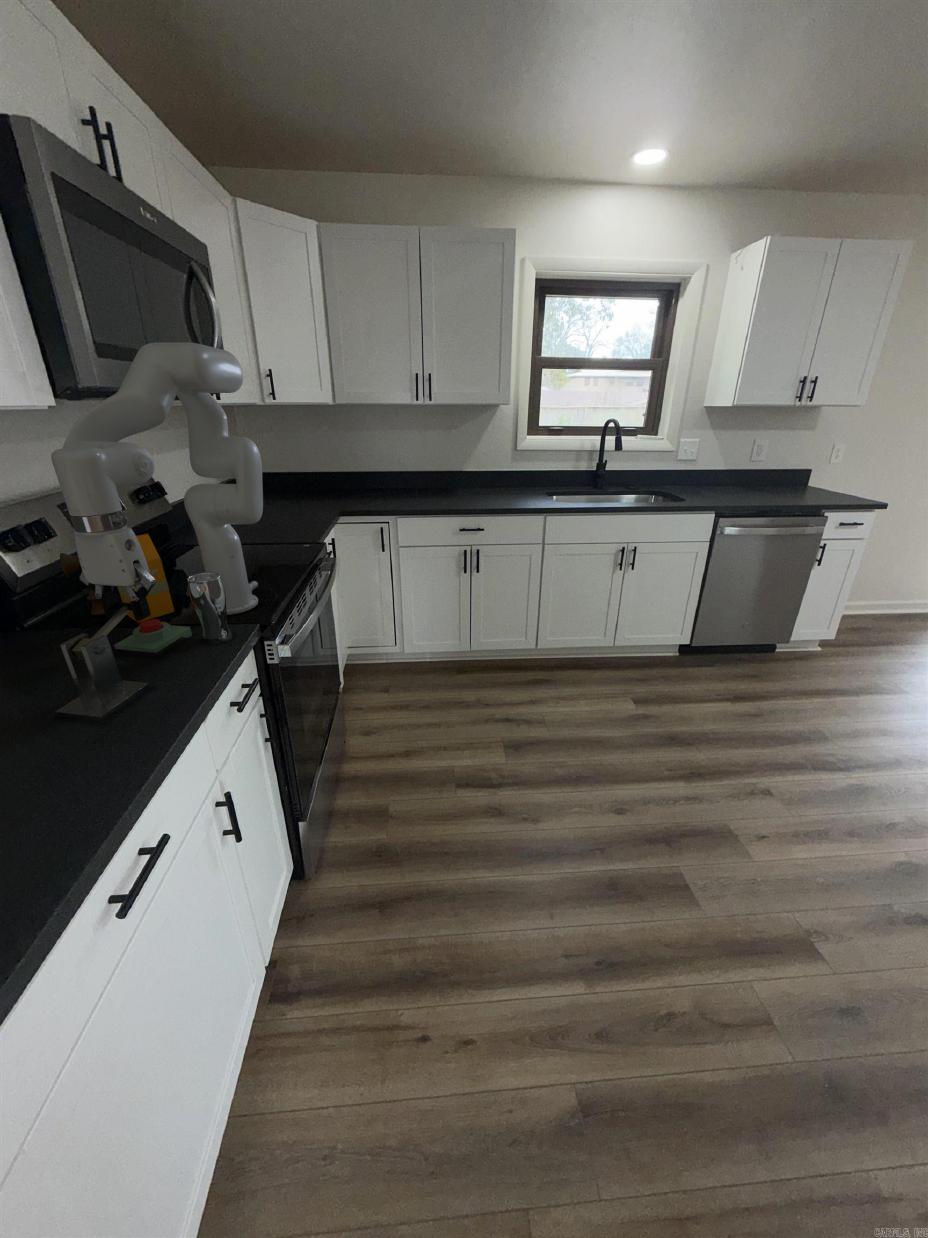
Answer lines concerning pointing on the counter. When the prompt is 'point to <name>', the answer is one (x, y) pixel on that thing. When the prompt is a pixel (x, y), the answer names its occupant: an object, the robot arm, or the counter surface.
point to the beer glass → (210, 605)
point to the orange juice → (159, 592)
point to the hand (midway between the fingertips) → (129, 616)
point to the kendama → (70, 568)
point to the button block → (153, 638)
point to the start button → (150, 625)
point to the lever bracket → (95, 678)
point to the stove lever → (105, 626)
